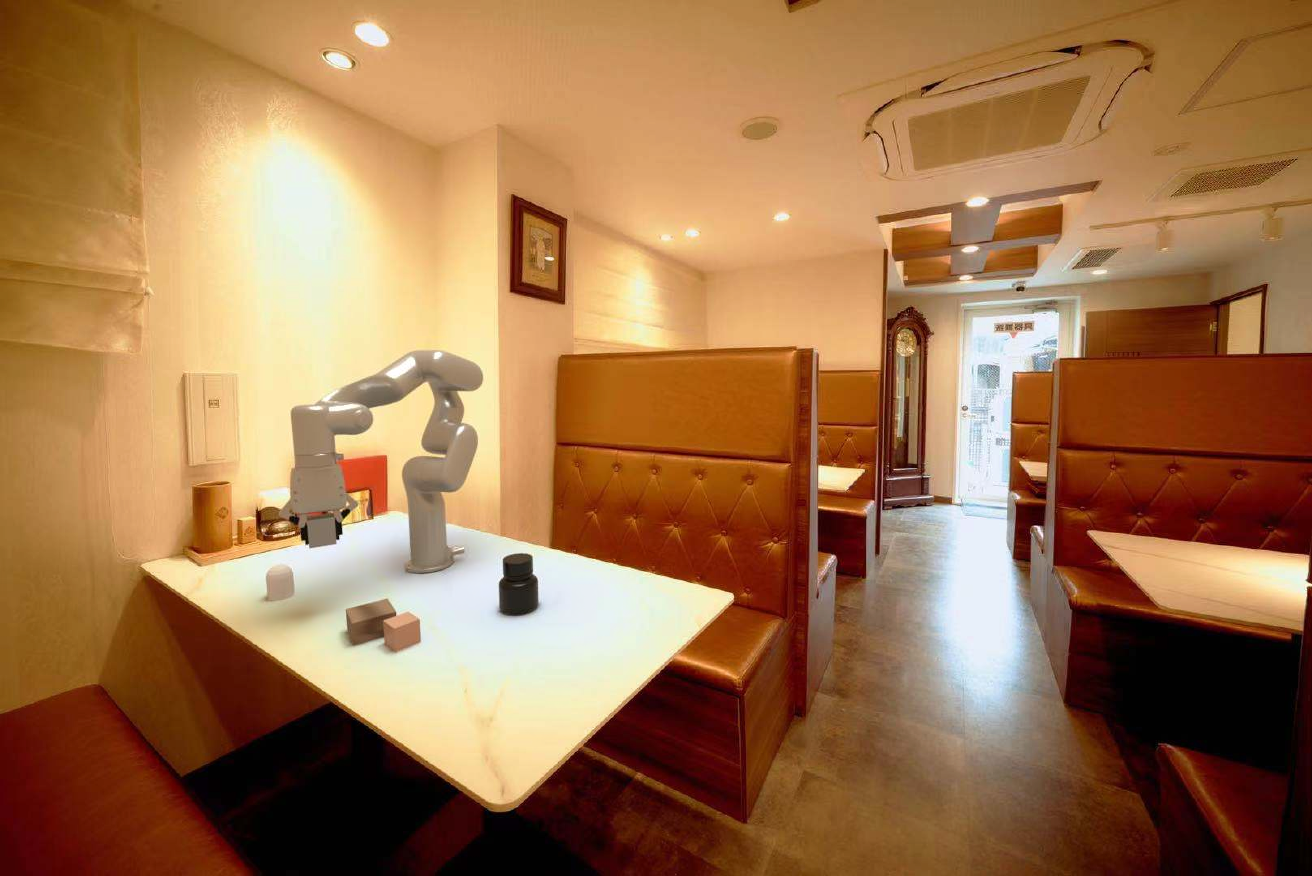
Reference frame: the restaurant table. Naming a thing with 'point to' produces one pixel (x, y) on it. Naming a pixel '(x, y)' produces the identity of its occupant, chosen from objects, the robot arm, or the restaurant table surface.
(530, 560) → the ink bottle
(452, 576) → the restaurant table surface
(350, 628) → the walnut block
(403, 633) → the terracotta cube
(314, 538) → the grey block
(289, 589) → the capsule
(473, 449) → the robot arm
